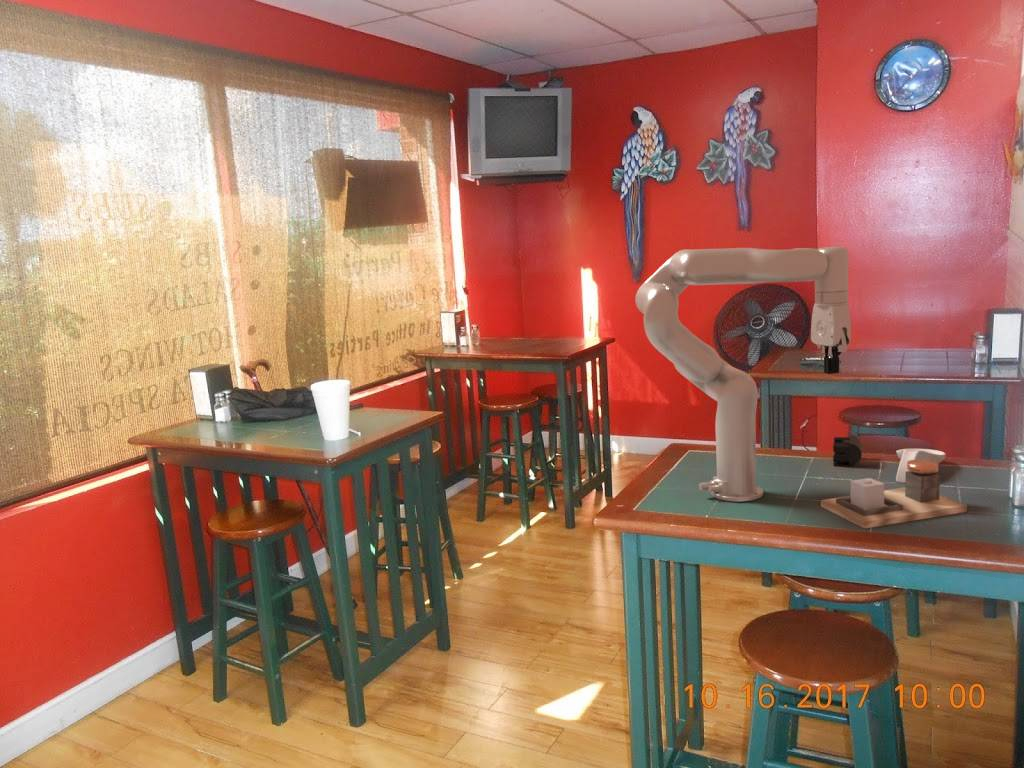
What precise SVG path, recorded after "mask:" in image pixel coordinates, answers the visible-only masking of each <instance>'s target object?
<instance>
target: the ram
mask: <svg viewBox="0 0 1024 768" xmlns="http://www.w3.org/2000/svg"><path fill="white" fill-rule="evenodd" d="M907 469H908V470H909V471H911V472H914V473H916V474H918V475H921V476H923V475H929V474H932V473H938V472H939V464H938V463H937V462H935V461H931V460H923V459H916V460H910V461H908V462H907Z"/></svg>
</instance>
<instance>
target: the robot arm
mask: <svg viewBox="0 0 1024 768" xmlns="http://www.w3.org/2000/svg"><path fill="white" fill-rule="evenodd" d="M849 259H850V258H849V250H848V248H847V247H844V246H826V247H820V248H810V247H808V248H807V247H804V248H803V247H795V248H791V249H766V248H765V249H763V248H754V247H735V248H734V247H733V248H732V247H730V248H729V247H728V248H700V249H699V248H697V249H685V248H684V249H680V250H678V251H677V252H675V253H674V254H673V255H672V256H670V258H669V259H667V260H666V261H665V262H664V263H663V264H662V265H661V266H659V268H658V269H657V270H655V272H654V273H653V274H652V275H650V277H648V278H647V280H646V281H644V282H643V283H642V284H641V286H640V287H639V288H638V290H637V291H636V294H635V305H636V308H637V309H638V311H639V312H641V313H642V314H643V328H644V332H645V335H646V337H647V339H648V341H649V343H650V344H651V345H652V346H653V347H654V348H655V349H656V350H657V351H658V352H659V353H660V354H661V355H663V356H664V357H665V358H666V359H667V360H668V361H670V362H671V363H672V364H673V366H674V368H675V370H677V372H678V373H679V374H680V375H682V376H683V377H684V378H685V379H687V381H689V382H690V383H691V384H693V385H695V387H697V388H698V389H699V390H701V391H702V392H703V393H705V394H706V395H707V396H708V397H710V398H711V399H713V400H714V401H716V402H717V405H716V406H717V407H716V414H715V425H714V426H715V453H716V455H715V456H716V458H715V459H716V475H713V477H712V479H711V480H710V481H708V482H707V481H704V482H699V483H698V489H699V490H700V491H708V492H710V494H711V496H712V497H714V498H716V499H718V500H721V501H725V502H742V503H743V502H750V501H755V500H759V499H760V498H762V497H763V496H764V489H763V488H762V487H761V486H759V485H757V448H756V446H757V445H756V444H757V441H756V440H757V436H756V412H757V406H758V405H757V404H758V398H759V394H758V393H759V392H758V387H757V384H756V381H755V380H754V379H753V378H752V376H750V375H749V374H748V373H747V372H746V371H743V370H741V369H738V368H736V367H733V366H732V365H730V364H729V363H728V362H727V361H726V360H724V359H723V358H721V357H720V355H719V353H718V352H717V350H716V349H714V347H712V346H711V345H709V344H707V343H706V342H704V341H703V340H702V339H700V338H699V337H698V336H697V335H696V334H694V333H693V332H692V331H691V330H689V329H688V327H686V326H685V325H683V323H682V322H681V319H679V313H678V312H679V305H680V304H679V302H680V301H679V296H680V295H681V294H682V293H683V292H684V290H685V289H686V288H688V286H709V285H710V286H713V285H746V284H748V285H752V284H761V283H762V284H763V283H789V282H790V283H792V282H794V283H796V282H813V281H814V304H813V307H812V313H811V314H812V315H811V323H810V324H811V325H810V341H811V342H812V343H813V344H815V345H816V347H817V348H819V349H820V350H821V355H822V357H823V373H824V374H828V375H834V374H839V372H840V358H841V357H842V353H843V352H847V351H848V345H849V344H850V343H851V335H852V333H851V329H852V326H851V313H850V308H849Z"/></svg>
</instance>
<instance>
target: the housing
mask: <svg viewBox="0 0 1024 768" xmlns="http://www.w3.org/2000/svg"><path fill="white" fill-rule="evenodd" d="M884 490H885V483H883V482H881V481H878V480H875V479H873V478H871V477H868V478H867V477H866V478H860V479H855V480H850V496H851V504H853V505H856V506H858V507H860V508H862V509H864V510H867V509H874V508H880V507H884Z"/></svg>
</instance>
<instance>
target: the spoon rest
mask: <svg viewBox="0 0 1024 768" xmlns="http://www.w3.org/2000/svg"><path fill="white" fill-rule="evenodd" d="M896 455H897V457H898V458H899V459H900V461H899V465H898V468H897V472H896V476H895V481H896V482H897V483H900V484H901V483H902V484H905V478H906V471H909V470H908V469H907V462H908V461H910V460H916V459H923V460H931V461H935V462H937V463H938V465H939V464H941V463H942V462H943V461H944V459H945V458H946V453H945V452H944V451H942V450H941V451H940V450H936V449H931V448H930V449H929V448H902V449H897V450H896Z"/></svg>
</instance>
